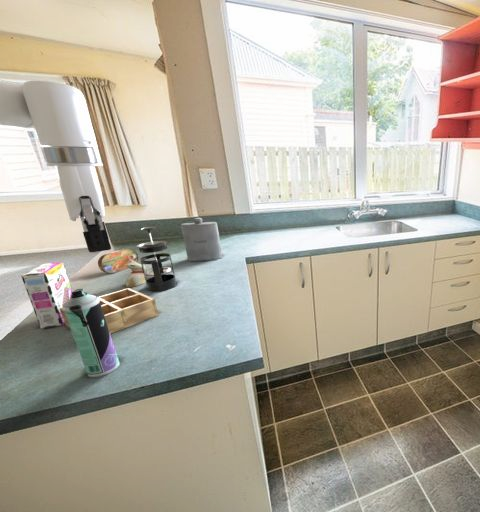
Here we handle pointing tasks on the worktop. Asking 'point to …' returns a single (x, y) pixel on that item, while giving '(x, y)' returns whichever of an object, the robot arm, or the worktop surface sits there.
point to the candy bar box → (48, 292)
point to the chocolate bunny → (135, 274)
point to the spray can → (91, 333)
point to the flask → (201, 240)
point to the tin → (117, 260)
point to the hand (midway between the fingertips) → (99, 245)
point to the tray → (124, 309)
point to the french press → (157, 265)
